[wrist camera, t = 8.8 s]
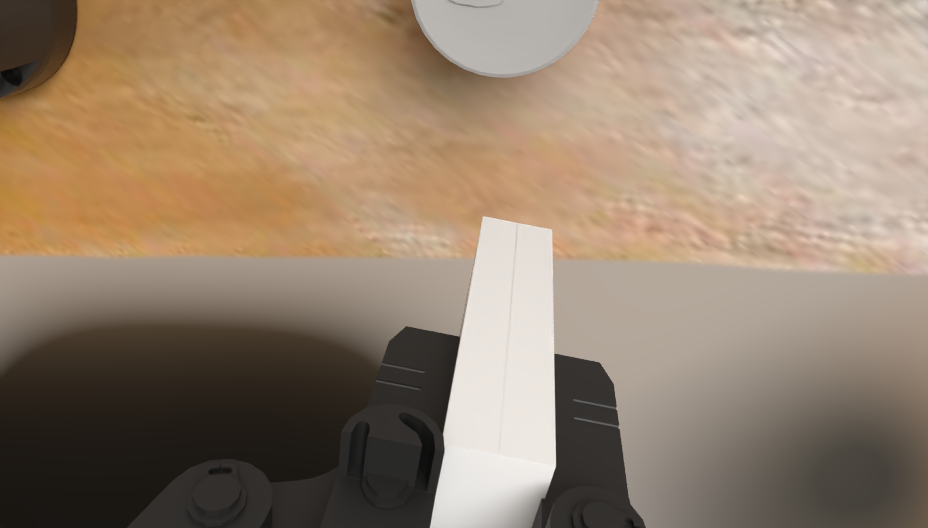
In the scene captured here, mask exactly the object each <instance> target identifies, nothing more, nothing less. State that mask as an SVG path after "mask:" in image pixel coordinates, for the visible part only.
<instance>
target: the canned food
mask: <svg viewBox="0 0 928 528" xmlns="http://www.w3.org/2000/svg"><path fill="white" fill-rule="evenodd" d="M411 3H412V6H413V10H414V13H415V17H416V19H417V21H418V23H419V25H420V27H421V29H422V31H423V33H424V35H425V36H426V37H427V39H428V40H429V41H430V42H431V44H432V45H433V46H434V48H435V49H436V50H437V51H439V52H440V53H441V54H442V55H443V56H444V57H445V58H447V59H448V60H449V61H451V62H452V63H454V64H456V65H457V66H459V67H461V68H463V69H465V70H467V71H470V72H473V73H476V74H479V75H483V76H490V77H497V78H502V77H517V76H522V75H526V74H530V73H534V72H536V71H538V70H541V69H543V68H545V67H547V66H550V65H551V64H553V63H554V62H556V61H557V60H558V59H560V58H561V57H563V56H564V55H565V54H566V53H567V52H568V51H570V50H571V49H572V48H573V47H574V46H575V45H576V44H577V43H578V41H579V40H580V38H581V37H582V36H583V34H584V33H585V31H586V30H587V28H588V27H589V25H590V23H591V21H592V18H593V16H594V14H595V12H596V9H597V7H598V3H599V0H411Z"/></svg>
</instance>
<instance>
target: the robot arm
mask: <svg viewBox="0 0 928 528" xmlns="http://www.w3.org/2000/svg"><path fill="white" fill-rule="evenodd" d="M75 26H76V0H0V100H1V99H5V98H8V97H11V96H14V95H16V94H19V93H21V92H24V91H26V90H29V89H31V88H34V87H36V86H38V85H40V84H41V83H43V82H44V81H46V80H47V79H49V78H50V77H51V76H52V75H53V74H54V73H55V72H56V71H57V70H58V69H59V67H60V66H61V65H62V63H63V62H64V60H65V58H66V56H67V54H68V52H69V50H70V47H71V44H72V41H73V37H74V32H75ZM618 425H619V421H618V414H617V410H616V399H615V391H614V384H613V382H612V381H611V379H610V378H609V376H608V375H607V373H606V372H605V370H604V369H603V367H602V365H601V364H600V363H599V362H594V361H589V360H584V359H579V358H574V357H569V356H564V355H559V354H554V317H553V257H552V230H551V229H546V228H541V227H536V226H531V225H526V224H520V223H515V222H510V221H505V220H500V219H495V218H490V217H485V216H483V219H482V224H481V229H480V234H479V239H478V244H477V249H476V254H475V259H474V264H473V269H472V274H471V279H470V285H469V289H468V294H467V299H466V304H465V309H464V314H463V319H462V325H461V330H460V336H459V337H458V336H453V335H447V334H443V333H438V332H433V331H427V330H422V329H417V328H412V327H405V328H404V329H403V330H402V331H400V332H399V333H398V334H397V335H396V336H395V337H394V338H393V339H391V340H390V341H389V344H388V346H387V349H386V352H385V356H384V358H383V361H382V366H381V367H380V371H379V373H378V376H377V380H376V383H375V385H374V388H373V391H372V394H371V397H370V400H369V403H368V406H367V408H365V409H363V410H362V411H360V412H359V413H357V414H356V415H354V416H352V417H351V418H350V419H349V421H348V422H347V424H346V426H345V427H344V428H343V430H342V433H341V444H340V454H339V465H338V466H337V467H336V468H334V469H333V470H332V471H330V472H328V473H326V474H323V475H320V476H318V477H316V478H310V479H305V480H300V481H287V482H277V483H269V481H268V479H267V477H266V476H265V474H264V473H263V472H262V471H260V470H259V469H257V468H256V467H254V466H253V465H251V464H250V463H246V462H242V461H237V460H233V459H224V460H212V461H208V462H205V463H202V464H200V465H197V466H194V467H191V468H189V469H188V470H187V471H185V472H184V473H182V474H181V475H180V476H178V477H177V478H176V479H174V480H173V481H172V482H171V483H170V484H169V485H168V486H167V487H166V488H165V489H164V490H163V491H162V492H161V493H160V494H159V495H158V496H157V497H156V498H155V499H154V500H153V501H152V502H151V503H150V504H149V506H148V507H147V508H146V509H145V510H144V511H143V512H142V513H141V514H140V515H139V516H138V517H137V518H136V519H135V520H134V521H133V522H132V523H131V524H130V525H129V526H128V527H127V528H646V527H645V525H644V522H643V519H642V518H641V517H640V516H639V515H638V513H637V512H636V511H635V510H634V508H633V507H632V506H631V504H630V501H629V497H628V490H627V483H626V474H625V467H624V461H623V452H622V444H621V437H620V429H618Z"/></svg>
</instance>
